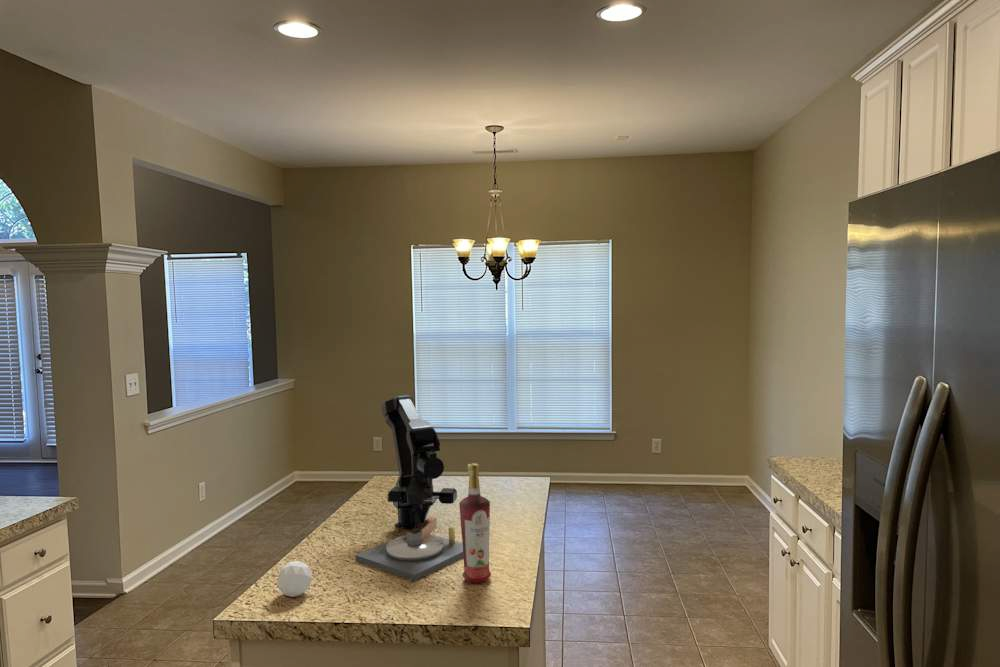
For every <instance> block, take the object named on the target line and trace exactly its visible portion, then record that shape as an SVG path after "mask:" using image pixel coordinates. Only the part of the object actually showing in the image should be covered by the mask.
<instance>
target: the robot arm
mask: <svg viewBox="0 0 1000 667" xmlns="http://www.w3.org/2000/svg"><path fill="white" fill-rule="evenodd" d="M381 414H382V416H383V417H384V422H385V423H386V424H387V425H388V426H389V428H390V429H391V431H392V438H393V444H394V445H393V446H394V450H395V456H396V461H397V462H396V463H397V469H398V477H397V479H396V483H395V486H394V487H392V489H390V490H389V491H388V493H387V502H390V503H392V505H393V507H395V508H396V509H397V517H398V518H397V521H398V522H397V523H395V524H394V527H398V528H401V529H404V530H409V531H410V530H412V529H414V528H415V529H416V528H417V527H418V526H419V525H421V524H422V523H423V522H424V521H425V520H426V519H427V518H428V514H429V511H430V508H431V506H434V504H435V503H436V501H437V499H438V501H439V503H441V504H447V505H448V504H449V505H451V504H454V503H455V502H456V500H457V499H458V491H457V489H456V488H455V487H454V488H451V487H450V488H449V487H445V488H443V487H442V489H441V490H440V491H434V485H433V484H434V482H433V479H434V480H436V479H438V478H440V477H441V475H442V474H443V473H444V471H445V470H444V469H445V465H444V461H443V460H442V459H441V458H439V457H438V456H437V455H438V454H437V452H440V451H441V448H440V447H441V443H440V442H441V441H440V440H439V437H438V434H437V432H436V429H435V428H434V427H433V426H432V424H431V423H430V422H429V421H428V420H425V419H422V417H421V415H420V414H419V412H418V410H417V407H416V406H415V405H414V403H413V398H412V396H411V395H409V394H406V395H396V396H394V397H393V398H392V399H388V400H385V401H384V402H383V403H382V405H381Z"/></svg>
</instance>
